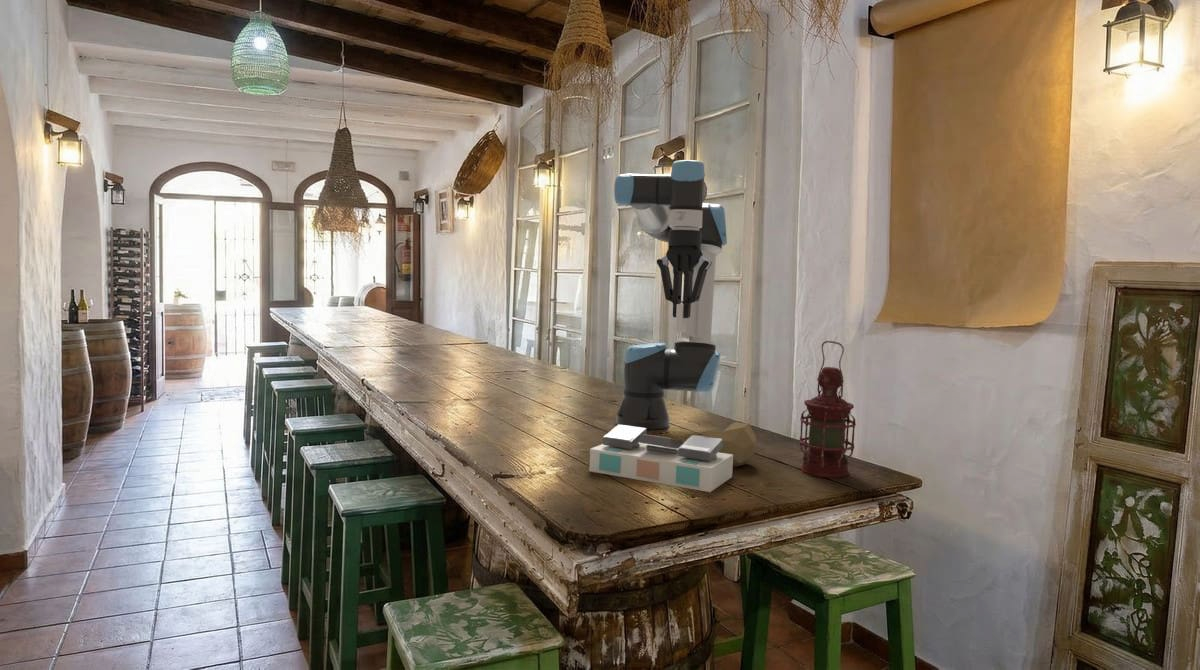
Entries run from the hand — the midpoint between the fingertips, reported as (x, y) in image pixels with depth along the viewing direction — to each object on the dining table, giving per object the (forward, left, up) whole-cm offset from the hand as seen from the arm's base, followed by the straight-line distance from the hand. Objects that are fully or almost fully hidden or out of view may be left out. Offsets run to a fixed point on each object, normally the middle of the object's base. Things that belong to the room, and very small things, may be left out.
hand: (680, 332), depth 185 cm
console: (+13, +2, -30) cm, 33 cm away
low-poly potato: (-4, +11, -31) cm, 33 cm away
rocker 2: (+13, +11, -23) cm, 29 cm away
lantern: (-11, +32, -31) cm, 46 cm away
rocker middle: (+13, +2, -23) cm, 27 cm away
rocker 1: (+13, -7, -23) cm, 28 cm away
